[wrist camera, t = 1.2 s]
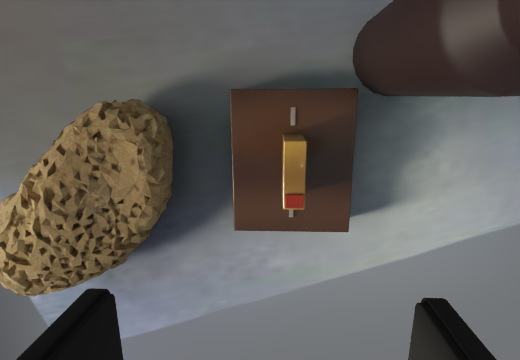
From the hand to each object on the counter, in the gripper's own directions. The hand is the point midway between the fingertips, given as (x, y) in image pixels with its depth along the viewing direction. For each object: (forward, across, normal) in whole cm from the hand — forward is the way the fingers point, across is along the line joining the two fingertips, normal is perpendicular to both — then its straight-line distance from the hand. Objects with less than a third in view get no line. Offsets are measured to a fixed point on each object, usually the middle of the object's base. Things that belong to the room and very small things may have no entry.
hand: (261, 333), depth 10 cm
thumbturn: (+17, -2, -2) cm, 18 cm away
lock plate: (+20, -2, -2) cm, 21 cm away
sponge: (+21, +16, +2) cm, 27 cm away
